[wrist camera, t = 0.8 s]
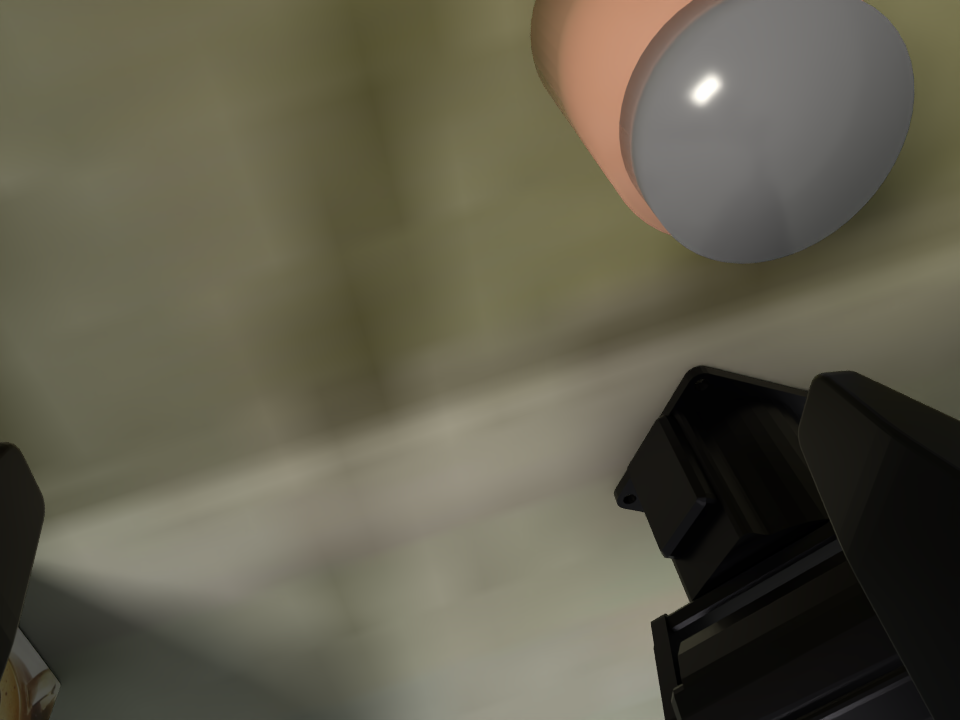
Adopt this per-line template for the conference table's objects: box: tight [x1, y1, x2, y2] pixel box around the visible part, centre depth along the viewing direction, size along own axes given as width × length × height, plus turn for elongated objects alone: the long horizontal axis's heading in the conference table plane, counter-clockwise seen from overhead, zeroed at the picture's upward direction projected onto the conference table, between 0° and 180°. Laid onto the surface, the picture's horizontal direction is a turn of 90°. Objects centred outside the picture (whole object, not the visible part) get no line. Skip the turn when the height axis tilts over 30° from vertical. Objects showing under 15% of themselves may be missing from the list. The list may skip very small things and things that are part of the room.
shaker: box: [531, 0, 914, 263], centre depth 16 cm, size 5×5×8 cm
